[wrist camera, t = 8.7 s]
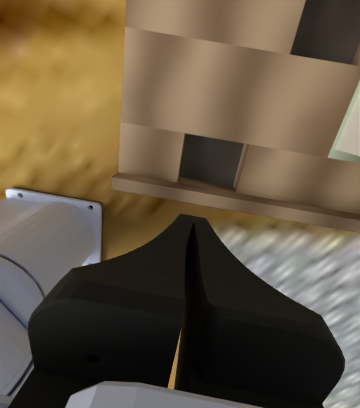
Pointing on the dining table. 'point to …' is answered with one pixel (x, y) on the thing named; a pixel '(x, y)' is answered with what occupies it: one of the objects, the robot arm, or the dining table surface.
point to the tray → (242, 106)
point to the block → (351, 132)
